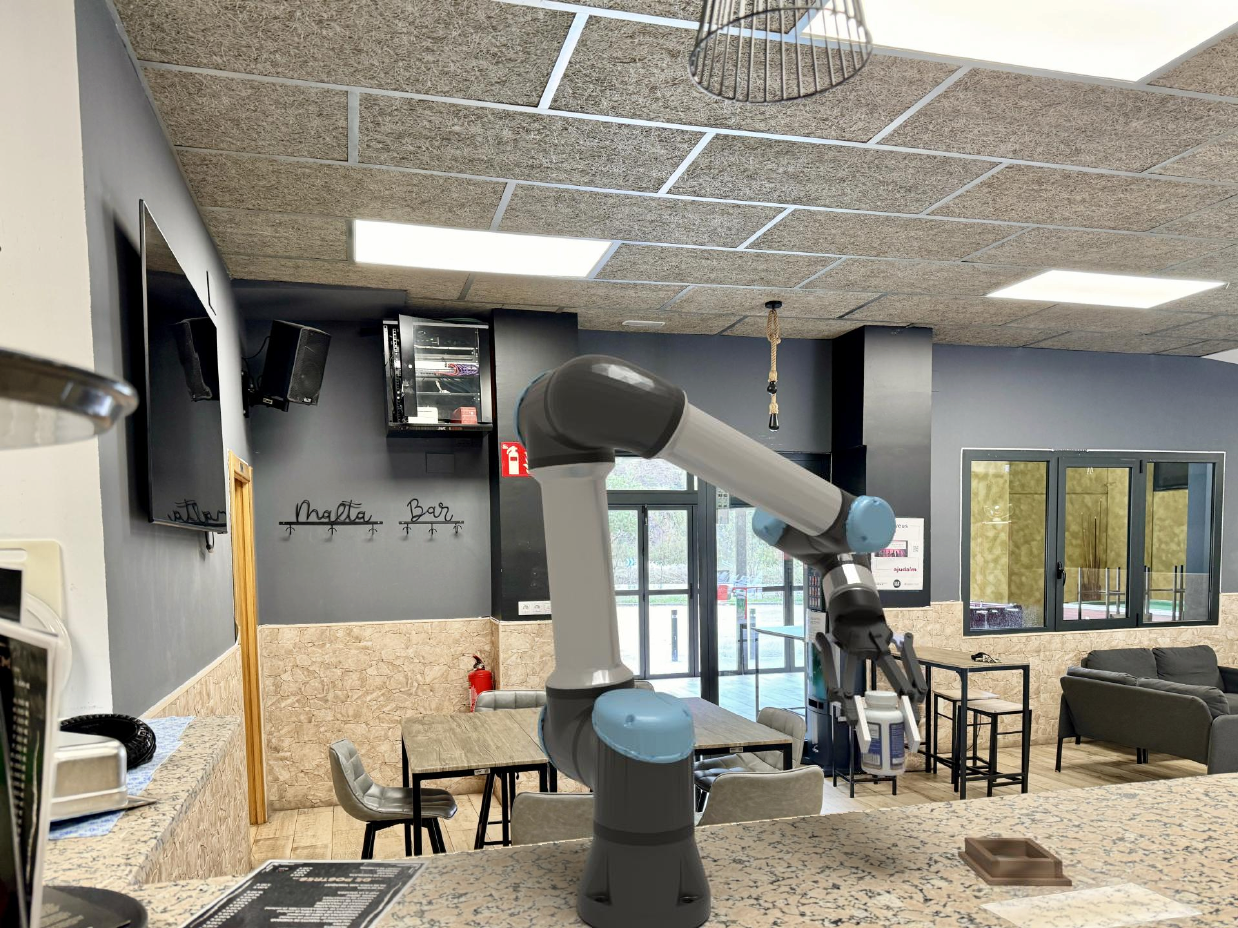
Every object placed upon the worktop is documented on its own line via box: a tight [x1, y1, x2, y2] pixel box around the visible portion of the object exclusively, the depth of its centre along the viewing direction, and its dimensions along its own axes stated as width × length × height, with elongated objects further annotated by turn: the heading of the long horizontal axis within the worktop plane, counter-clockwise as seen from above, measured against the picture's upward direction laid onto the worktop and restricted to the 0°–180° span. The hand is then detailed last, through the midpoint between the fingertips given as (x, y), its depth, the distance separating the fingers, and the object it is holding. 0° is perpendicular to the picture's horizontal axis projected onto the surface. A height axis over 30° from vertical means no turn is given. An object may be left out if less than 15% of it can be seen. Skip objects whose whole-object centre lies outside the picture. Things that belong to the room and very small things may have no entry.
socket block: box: [957, 836, 1073, 887], centre depth 108 cm, size 10×10×3 cm
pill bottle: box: [860, 690, 906, 777], centre depth 109 cm, size 5×5×10 cm
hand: (890, 746), depth 105 cm, fingers closed on pill bottle, 5 cm apart
